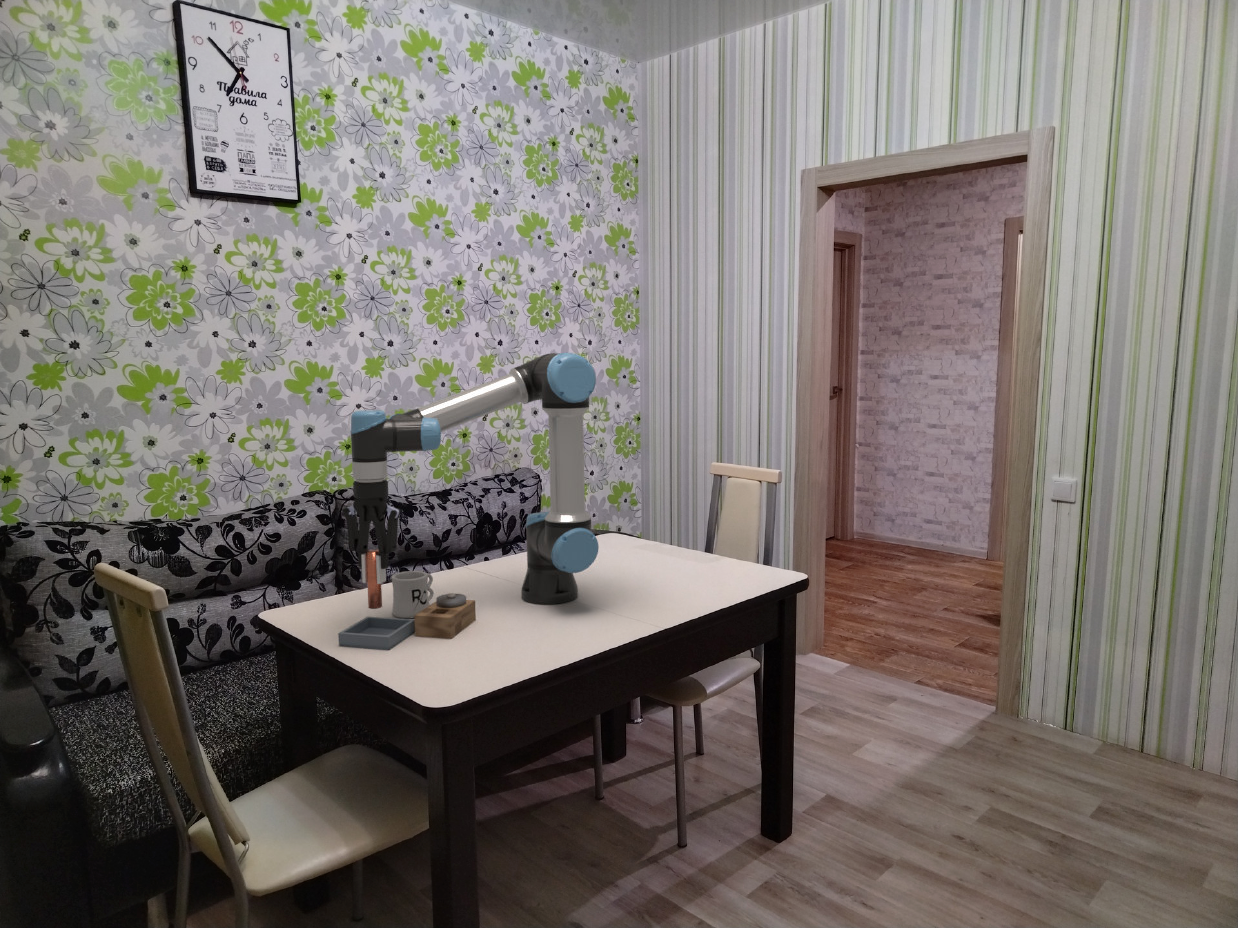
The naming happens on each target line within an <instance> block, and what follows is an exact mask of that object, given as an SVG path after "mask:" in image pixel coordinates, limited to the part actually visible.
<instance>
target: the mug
mask: <svg viewBox="0 0 1238 928" xmlns="http://www.w3.org/2000/svg"><path fill="white" fill-rule="evenodd" d="M390 578H391V583H392V589H393V590H392V591H393V593H392V594H393V599H392V600H393V601H392V615H393V616H395V617H396V618H397V619H415V617H414V615H416V614H417V613H419V612H420V611H422V610H423V609H425V608H427V607H428V606H430V601H431V600H432V598H433V597H434V595H435V594H434V590H433V589H432V588H431V586H432V584H433V582H434V578H433V576H432V574H431V573H427V572H425V571H421V570H408V571H401V572H396V573H394V574H393V575H391V577H390ZM428 593H429V595H428Z"/></svg>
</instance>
